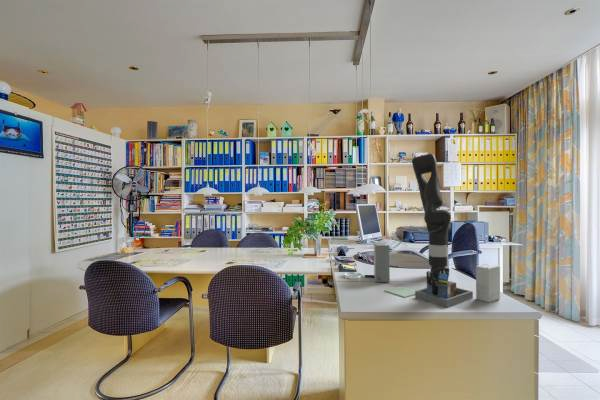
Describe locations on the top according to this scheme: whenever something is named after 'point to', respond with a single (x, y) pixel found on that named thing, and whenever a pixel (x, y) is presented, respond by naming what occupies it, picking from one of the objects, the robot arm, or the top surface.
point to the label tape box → (441, 287)
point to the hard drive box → (381, 262)
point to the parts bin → (461, 297)
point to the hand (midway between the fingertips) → (438, 293)
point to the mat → (401, 291)
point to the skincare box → (488, 282)
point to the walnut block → (452, 289)
